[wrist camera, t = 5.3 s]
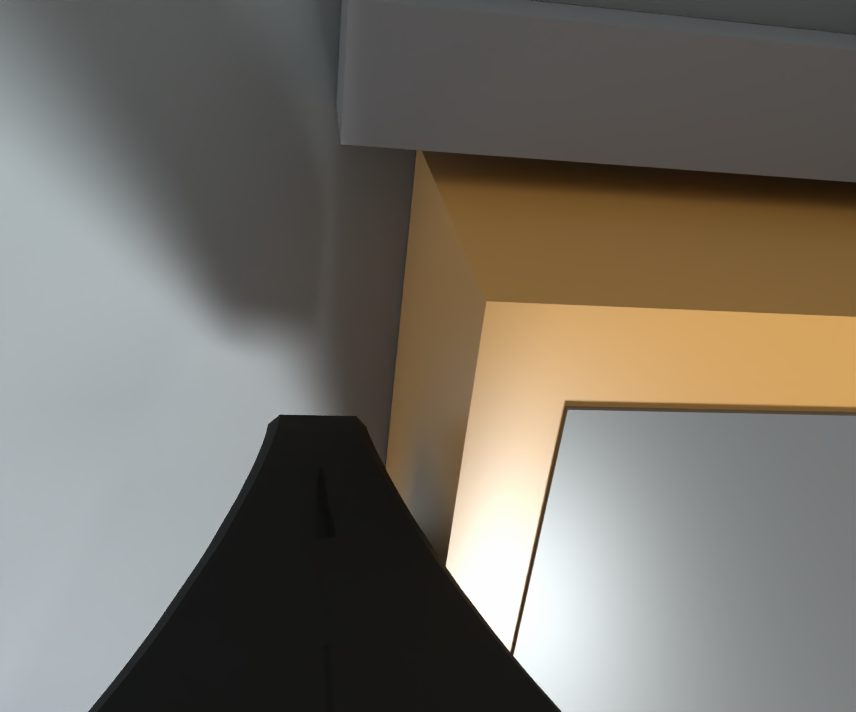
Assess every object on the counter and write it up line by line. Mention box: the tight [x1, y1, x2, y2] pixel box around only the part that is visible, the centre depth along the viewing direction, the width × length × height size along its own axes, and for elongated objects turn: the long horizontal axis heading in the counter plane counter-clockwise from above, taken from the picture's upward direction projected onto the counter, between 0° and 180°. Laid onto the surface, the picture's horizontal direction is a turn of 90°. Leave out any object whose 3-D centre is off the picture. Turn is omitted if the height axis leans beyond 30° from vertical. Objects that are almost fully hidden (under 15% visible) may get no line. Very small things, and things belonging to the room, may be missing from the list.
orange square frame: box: [386, 150, 856, 712], centre depth 9 cm, size 6×7×4 cm
